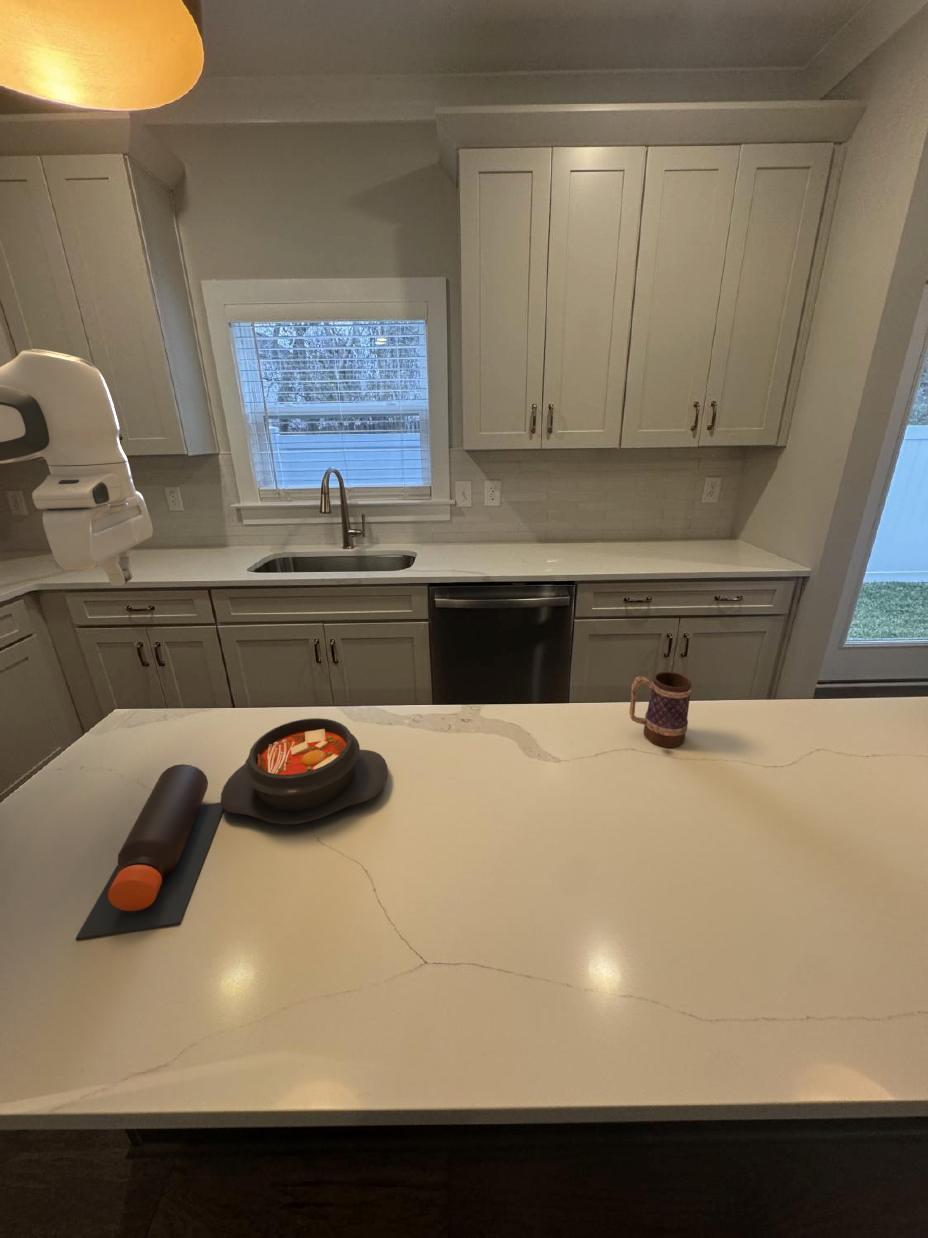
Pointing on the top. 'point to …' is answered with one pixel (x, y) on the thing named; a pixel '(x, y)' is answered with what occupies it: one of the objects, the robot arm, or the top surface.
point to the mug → (664, 708)
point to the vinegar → (158, 837)
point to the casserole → (304, 773)
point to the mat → (171, 891)
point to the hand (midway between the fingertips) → (122, 582)
